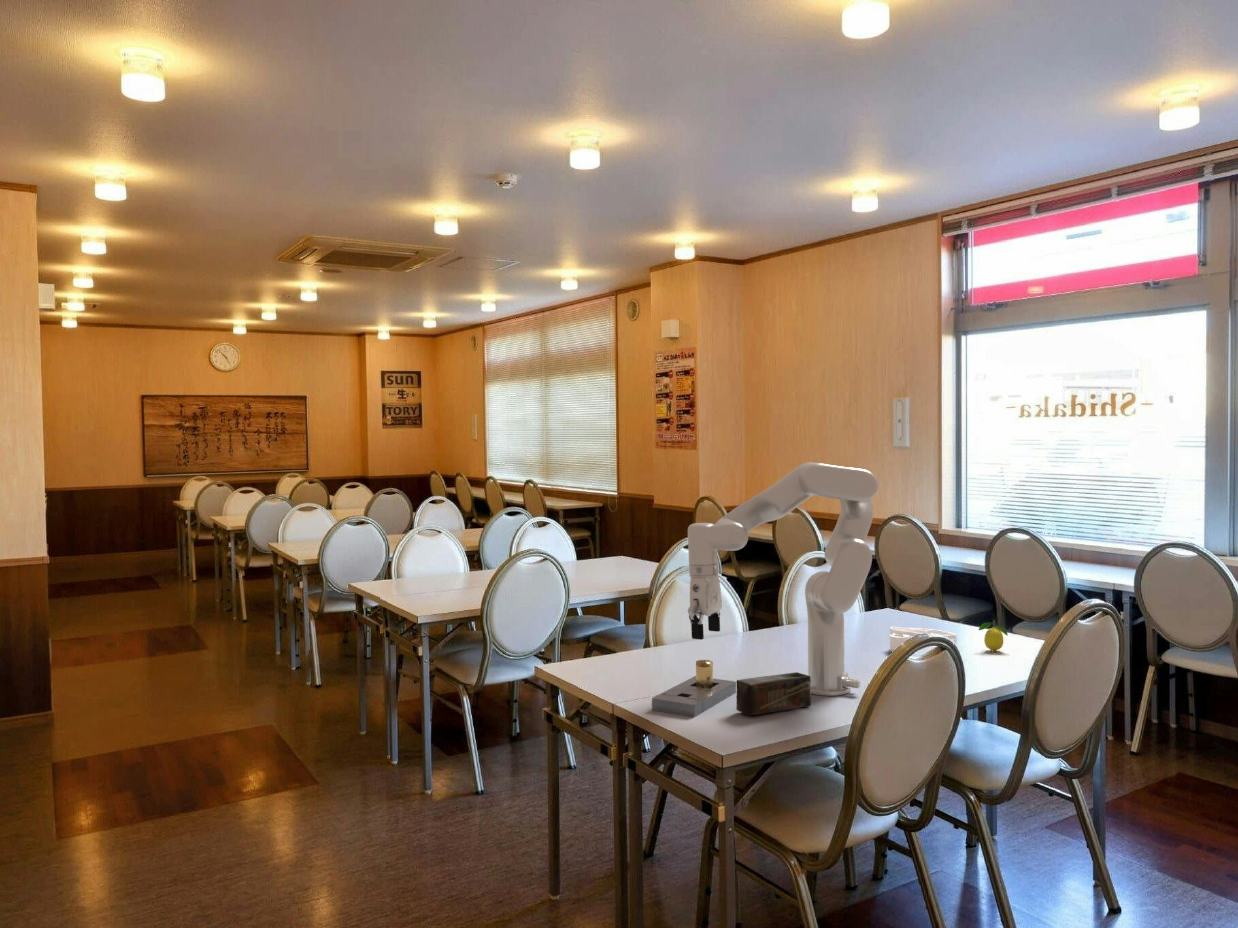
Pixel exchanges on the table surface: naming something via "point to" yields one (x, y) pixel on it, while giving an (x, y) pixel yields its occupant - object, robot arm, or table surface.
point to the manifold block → (693, 697)
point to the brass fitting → (704, 674)
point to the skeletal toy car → (912, 634)
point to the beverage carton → (773, 693)
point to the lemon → (993, 636)
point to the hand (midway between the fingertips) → (706, 634)
